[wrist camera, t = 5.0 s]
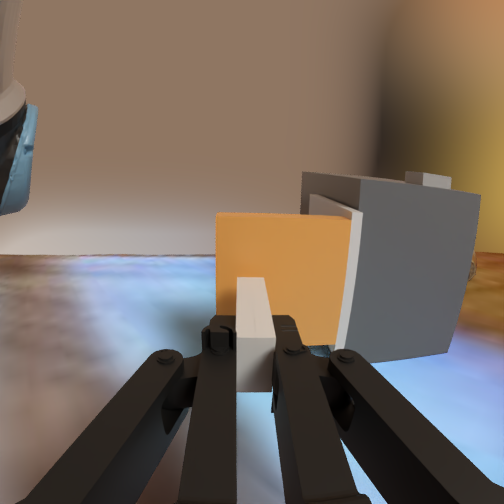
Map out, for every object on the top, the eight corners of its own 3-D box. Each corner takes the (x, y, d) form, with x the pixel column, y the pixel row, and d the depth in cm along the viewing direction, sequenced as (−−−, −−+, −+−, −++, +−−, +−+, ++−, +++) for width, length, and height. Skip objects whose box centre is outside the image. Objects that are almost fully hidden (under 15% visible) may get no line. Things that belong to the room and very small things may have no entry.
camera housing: (336, 365, 23) (361, 163, 19) (294, 274, 43) (300, 163, 39) (447, 352, 23) (481, 182, 19) (367, 274, 44) (377, 170, 40)
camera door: (217, 358, 20) (215, 207, 18) (224, 290, 32) (225, 191, 29) (342, 355, 21) (363, 212, 18) (309, 291, 32) (316, 194, 30)
